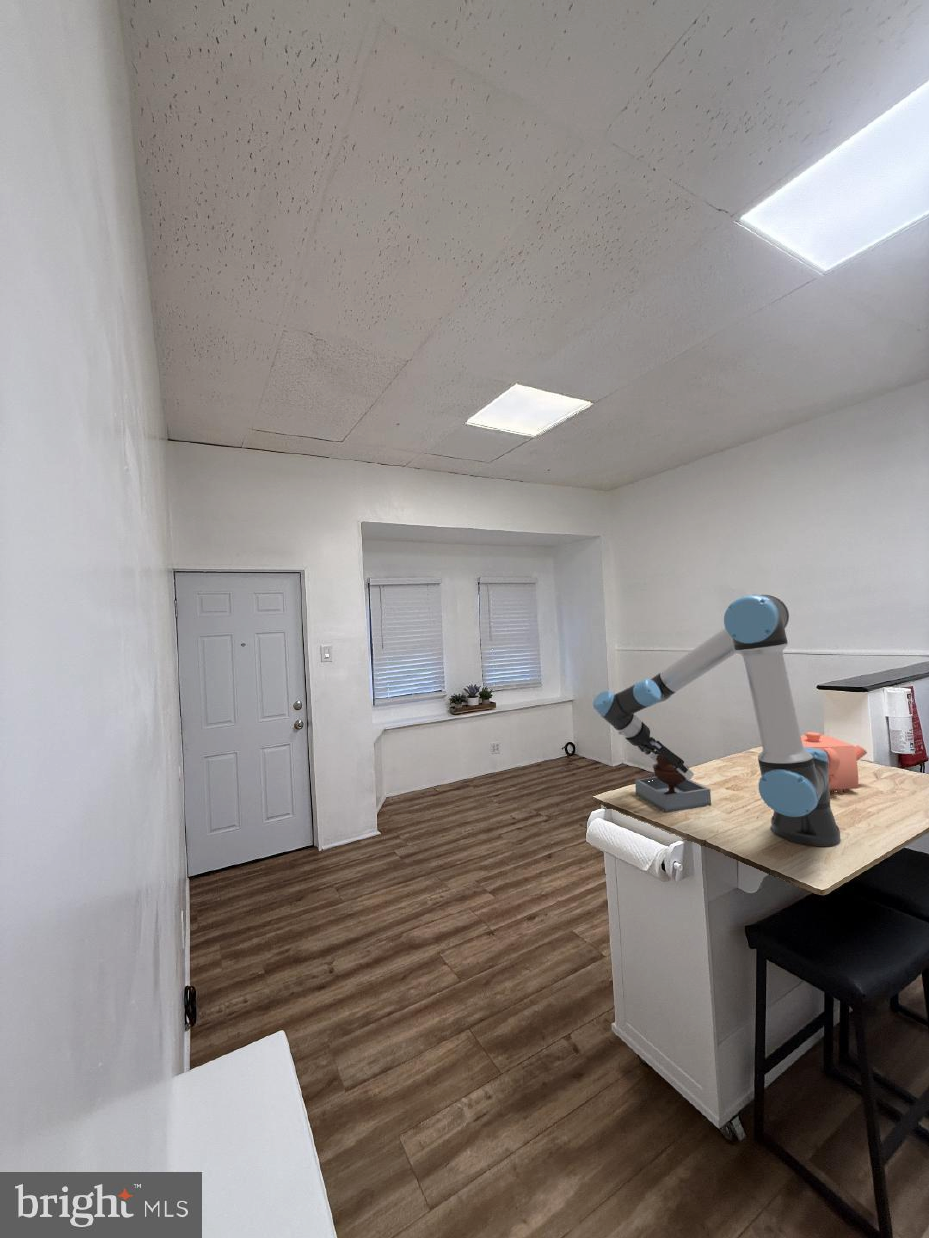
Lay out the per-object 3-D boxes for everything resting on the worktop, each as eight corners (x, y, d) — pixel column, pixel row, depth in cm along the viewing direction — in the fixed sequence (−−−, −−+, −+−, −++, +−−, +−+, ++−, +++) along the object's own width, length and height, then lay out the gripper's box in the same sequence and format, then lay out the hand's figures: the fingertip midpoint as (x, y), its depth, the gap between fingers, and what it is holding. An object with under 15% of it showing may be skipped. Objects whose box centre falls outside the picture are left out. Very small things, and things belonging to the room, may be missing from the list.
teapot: (843, 773, 171) (841, 723, 171) (894, 798, 148) (891, 740, 148) (769, 775, 173) (766, 725, 173) (807, 799, 151) (804, 742, 151)
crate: (711, 805, 151) (710, 789, 151) (666, 812, 147) (665, 796, 147) (677, 788, 166) (676, 773, 166) (635, 794, 163) (635, 779, 163)
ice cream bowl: (687, 806, 149) (685, 757, 148) (649, 798, 156) (647, 752, 155) (694, 793, 158) (692, 748, 157) (658, 787, 164) (656, 743, 164)
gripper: (605, 730, 165) (647, 768, 169) (649, 748, 141) (696, 792, 145) (619, 713, 166) (660, 751, 170) (664, 728, 142) (711, 772, 146)
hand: (677, 770), depth 157 cm, fingers open, 13 cm apart
